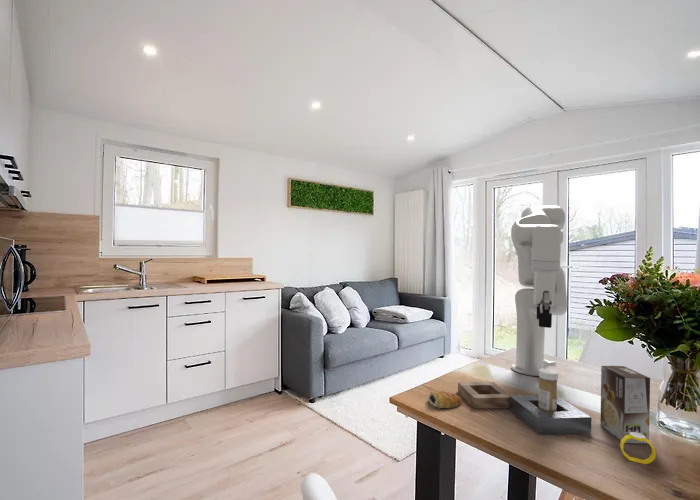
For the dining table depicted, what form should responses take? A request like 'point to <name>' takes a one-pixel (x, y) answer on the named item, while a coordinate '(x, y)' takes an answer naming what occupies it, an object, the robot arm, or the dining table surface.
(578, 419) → the block
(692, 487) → the dining table surface
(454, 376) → the dining table surface
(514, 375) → the dining table surface
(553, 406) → the sprinkles bottle
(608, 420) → the coffee box
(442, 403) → the pastry
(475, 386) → the holder ring
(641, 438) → the watch
